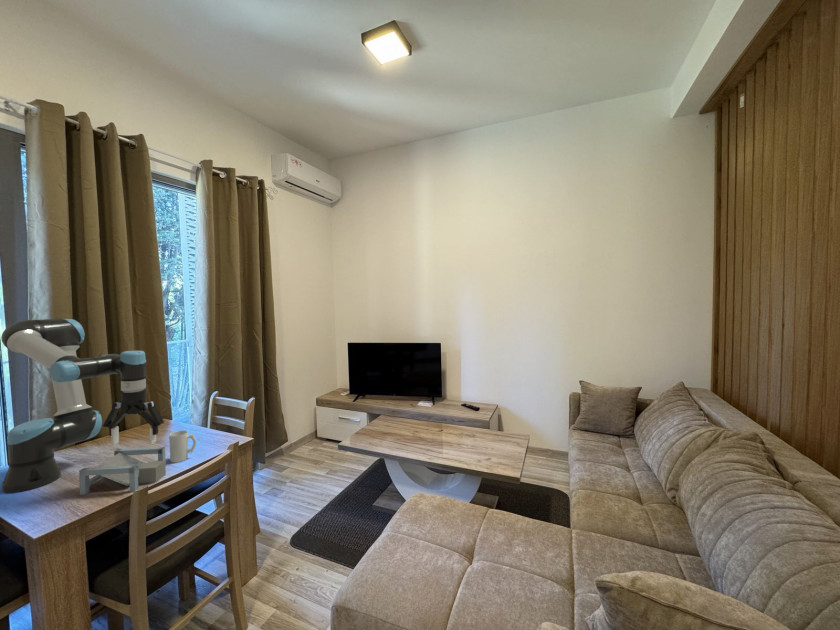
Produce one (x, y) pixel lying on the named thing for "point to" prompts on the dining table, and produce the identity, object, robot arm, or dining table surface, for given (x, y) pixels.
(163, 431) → the dining table surface
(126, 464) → the trapdoor
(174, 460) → the mug
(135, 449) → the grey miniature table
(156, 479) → the stone
